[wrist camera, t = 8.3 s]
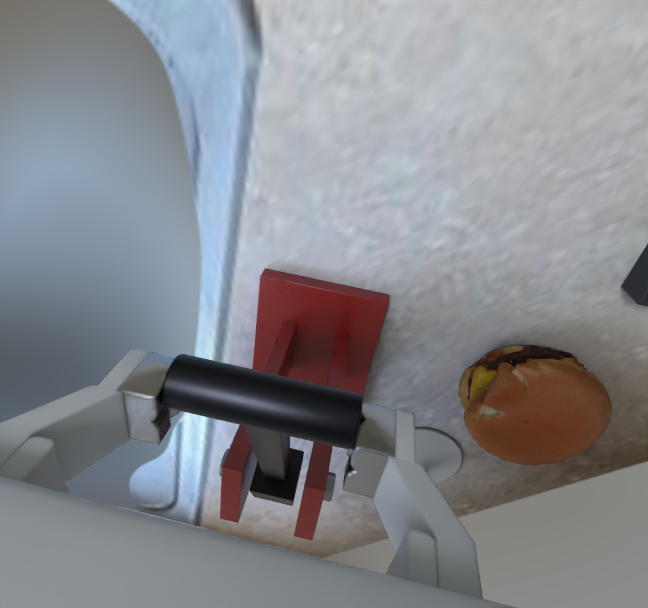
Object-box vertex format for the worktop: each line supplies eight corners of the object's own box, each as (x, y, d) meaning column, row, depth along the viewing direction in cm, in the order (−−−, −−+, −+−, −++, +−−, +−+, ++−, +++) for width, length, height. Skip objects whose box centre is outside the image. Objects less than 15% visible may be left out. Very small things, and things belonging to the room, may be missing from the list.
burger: (575, 435, 33) (599, 486, 29) (454, 428, 35) (461, 476, 31) (607, 332, 28) (640, 377, 24) (463, 330, 30) (473, 372, 26)
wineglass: (388, 417, 35) (379, 787, 17) (477, 438, 35) (559, 837, 17) (368, 472, 39) (344, 818, 21) (447, 491, 39) (489, 859, 21)
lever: (184, 328, 11) (146, 416, 10) (368, 369, 11) (353, 464, 10) (242, 446, 24) (229, 490, 23) (326, 466, 24) (317, 512, 23)
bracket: (264, 268, 30) (178, 408, 18) (389, 294, 29) (384, 455, 17) (254, 381, 35) (184, 542, 24) (358, 404, 35) (338, 580, 23)
